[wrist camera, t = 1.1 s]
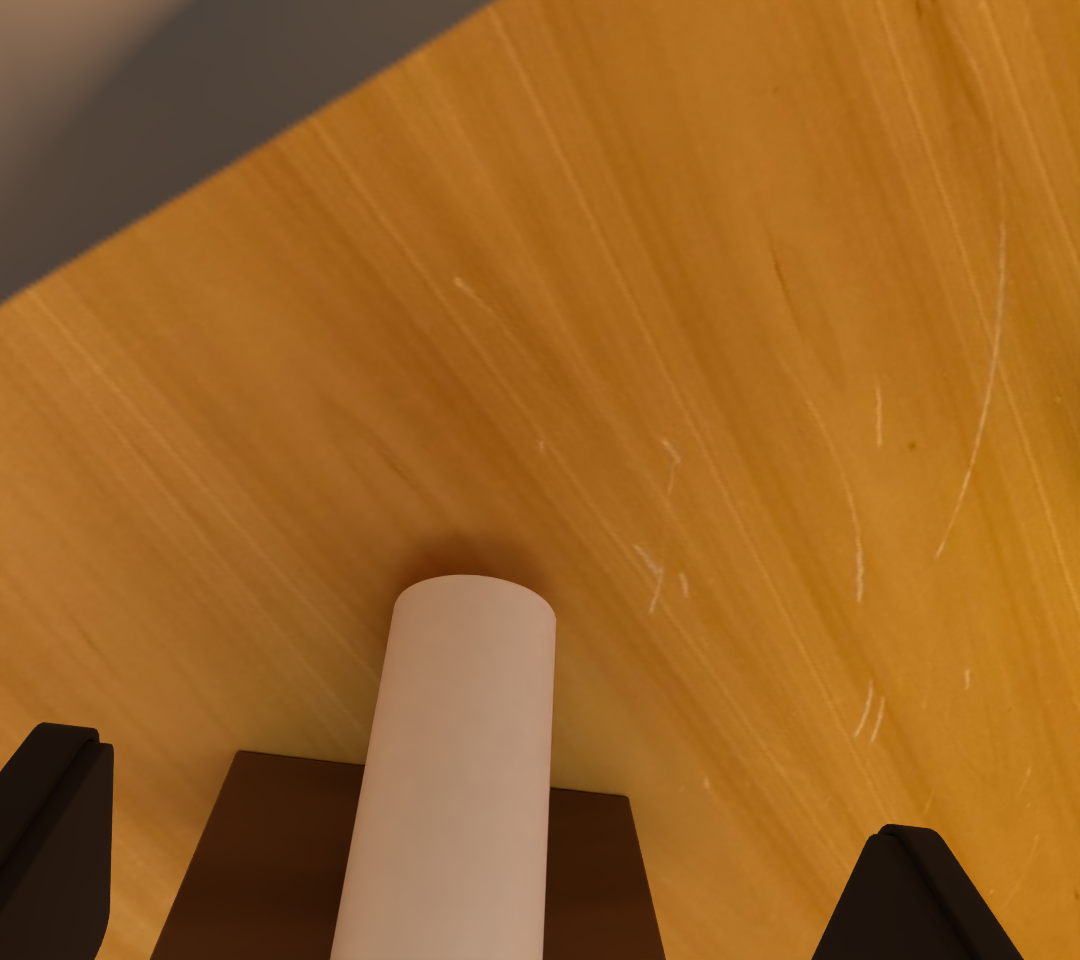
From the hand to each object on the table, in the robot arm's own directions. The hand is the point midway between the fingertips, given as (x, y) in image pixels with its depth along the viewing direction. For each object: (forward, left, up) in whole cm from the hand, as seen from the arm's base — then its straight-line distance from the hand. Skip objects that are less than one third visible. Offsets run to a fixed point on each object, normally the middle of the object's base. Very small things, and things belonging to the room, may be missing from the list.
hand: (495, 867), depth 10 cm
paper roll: (+8, +1, -10) cm, 13 cm away
